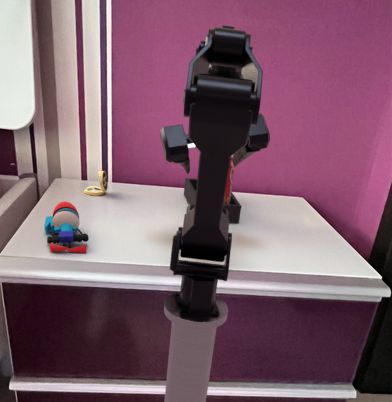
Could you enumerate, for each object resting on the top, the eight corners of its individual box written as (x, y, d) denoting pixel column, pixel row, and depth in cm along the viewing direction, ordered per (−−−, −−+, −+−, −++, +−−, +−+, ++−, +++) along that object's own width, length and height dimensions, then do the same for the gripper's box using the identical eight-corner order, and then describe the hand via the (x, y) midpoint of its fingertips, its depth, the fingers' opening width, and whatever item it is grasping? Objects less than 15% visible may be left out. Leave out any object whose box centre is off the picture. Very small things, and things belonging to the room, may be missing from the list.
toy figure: (91, 260, 100) (84, 216, 110) (89, 236, 96) (82, 193, 107) (47, 263, 98) (45, 218, 109) (43, 239, 95) (41, 195, 105)
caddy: (196, 221, 117) (198, 204, 115) (183, 194, 132) (185, 178, 129) (238, 223, 119) (241, 206, 117) (221, 196, 133) (223, 180, 131)
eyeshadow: (87, 188, 128) (87, 166, 125) (108, 191, 128) (109, 169, 125) (81, 193, 124) (81, 171, 122) (104, 197, 124) (104, 174, 121)
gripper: (260, 62, 96) (247, 127, 110) (153, 75, 93) (154, 141, 108) (278, 113, 92) (262, 174, 107) (167, 128, 90) (166, 188, 104)
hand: (211, 168), depth 106 cm, fingers open, 9 cm apart
